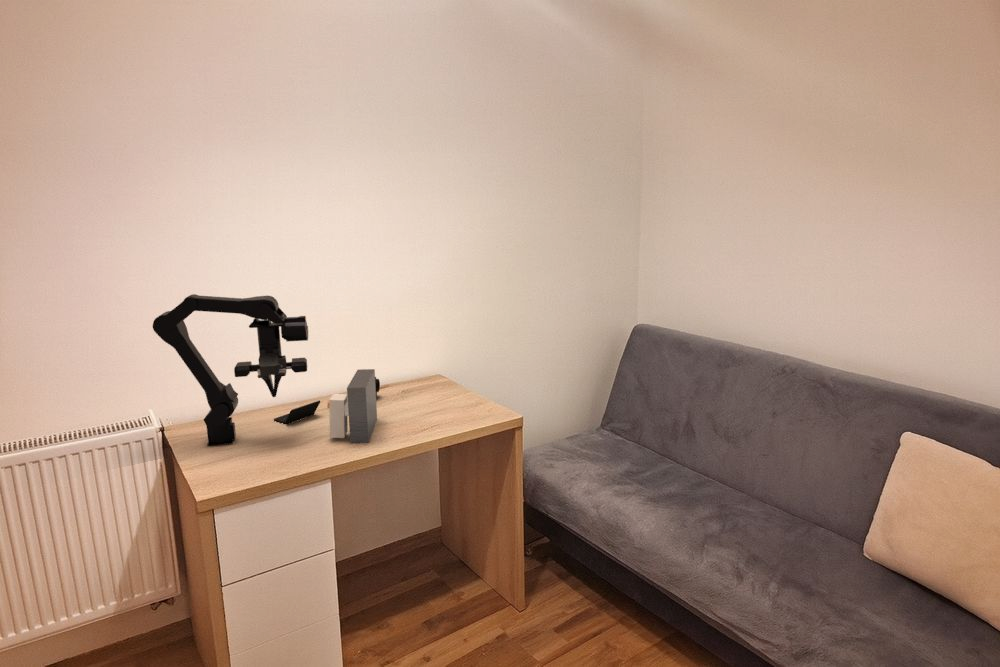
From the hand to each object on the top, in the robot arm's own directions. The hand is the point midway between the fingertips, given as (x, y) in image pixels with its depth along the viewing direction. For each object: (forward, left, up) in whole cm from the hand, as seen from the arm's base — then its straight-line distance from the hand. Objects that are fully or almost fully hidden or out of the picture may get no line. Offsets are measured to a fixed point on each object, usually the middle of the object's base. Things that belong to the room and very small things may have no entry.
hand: (274, 396), depth 181 cm
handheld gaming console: (+5, +14, -12) cm, 19 cm away
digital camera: (+27, +25, -12) cm, 39 cm away
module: (+16, -6, -11) cm, 20 cm away
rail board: (+23, -2, -12) cm, 26 cm away
